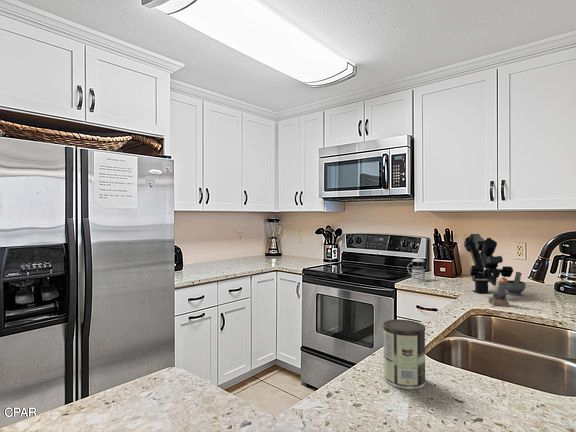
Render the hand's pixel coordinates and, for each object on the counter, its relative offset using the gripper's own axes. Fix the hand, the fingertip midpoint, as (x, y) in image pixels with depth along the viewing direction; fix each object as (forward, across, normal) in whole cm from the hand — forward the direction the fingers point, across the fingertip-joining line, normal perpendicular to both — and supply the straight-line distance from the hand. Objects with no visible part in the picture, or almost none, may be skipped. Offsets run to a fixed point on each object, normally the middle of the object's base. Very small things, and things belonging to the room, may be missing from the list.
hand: (494, 285), depth 172 cm
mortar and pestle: (-9, +16, +21) cm, 28 cm away
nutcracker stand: (+9, 0, +2) cm, 10 cm away
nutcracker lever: (+8, 0, -1) cm, 8 cm away
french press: (-29, -31, +42) cm, 59 cm away
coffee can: (+74, -50, -64) cm, 110 cm away
